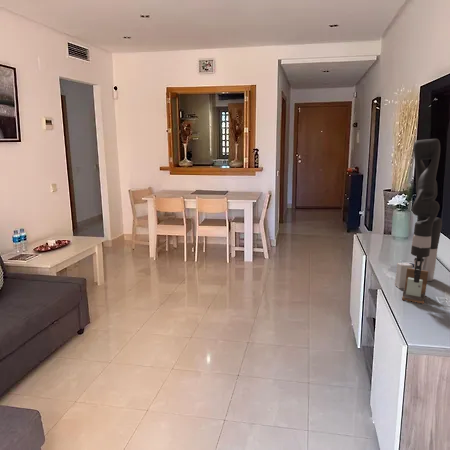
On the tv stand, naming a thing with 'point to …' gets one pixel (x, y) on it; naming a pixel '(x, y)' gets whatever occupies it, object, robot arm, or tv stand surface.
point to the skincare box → (401, 274)
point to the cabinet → (424, 277)
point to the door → (414, 287)
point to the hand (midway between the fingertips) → (416, 279)
